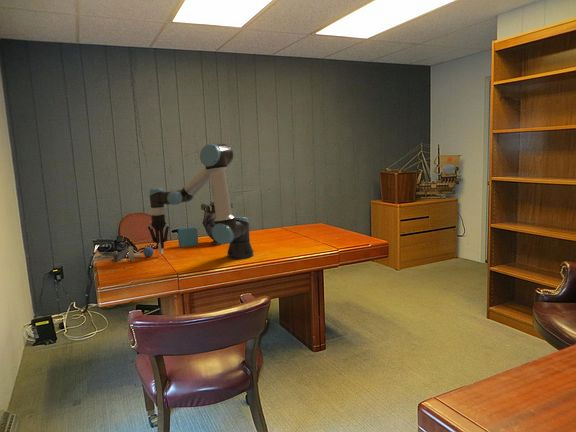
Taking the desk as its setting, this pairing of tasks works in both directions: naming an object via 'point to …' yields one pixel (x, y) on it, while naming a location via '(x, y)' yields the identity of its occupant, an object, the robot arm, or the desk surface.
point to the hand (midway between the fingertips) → (161, 253)
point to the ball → (148, 251)
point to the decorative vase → (210, 219)
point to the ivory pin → (136, 255)
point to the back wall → (121, 255)
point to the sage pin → (131, 253)
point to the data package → (188, 237)
